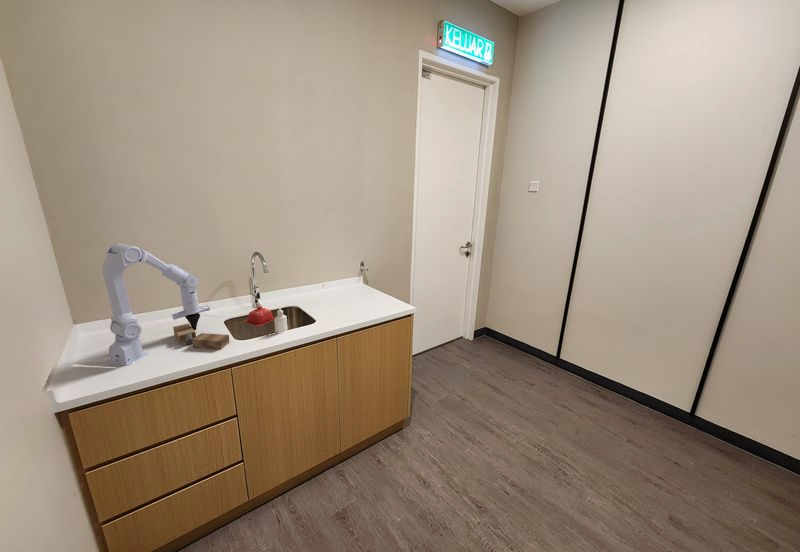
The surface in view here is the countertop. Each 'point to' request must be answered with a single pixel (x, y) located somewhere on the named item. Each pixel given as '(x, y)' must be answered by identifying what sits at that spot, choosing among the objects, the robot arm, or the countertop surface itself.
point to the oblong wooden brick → (210, 341)
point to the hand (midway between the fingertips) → (194, 329)
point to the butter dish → (259, 316)
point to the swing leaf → (184, 334)
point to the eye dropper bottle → (280, 322)
